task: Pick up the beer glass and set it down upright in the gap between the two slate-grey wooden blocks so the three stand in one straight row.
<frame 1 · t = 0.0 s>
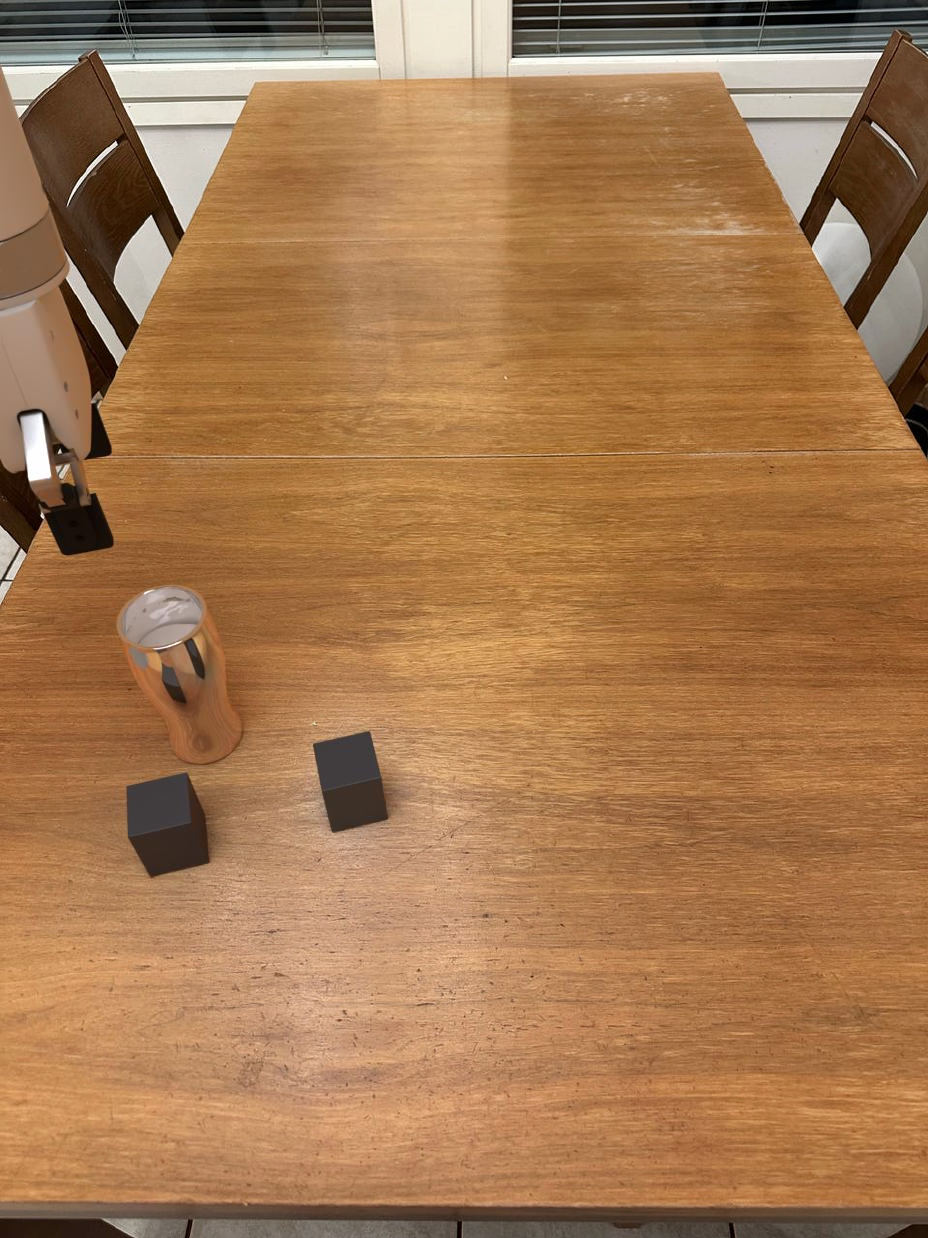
hand: (89, 500, 63), 25 cm above the table, tool pointing down, fingers open, 9 cm apart
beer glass: (207, 736, 81), on the table
block right: (355, 802, 76), on the table
block left: (178, 844, 74), on the table
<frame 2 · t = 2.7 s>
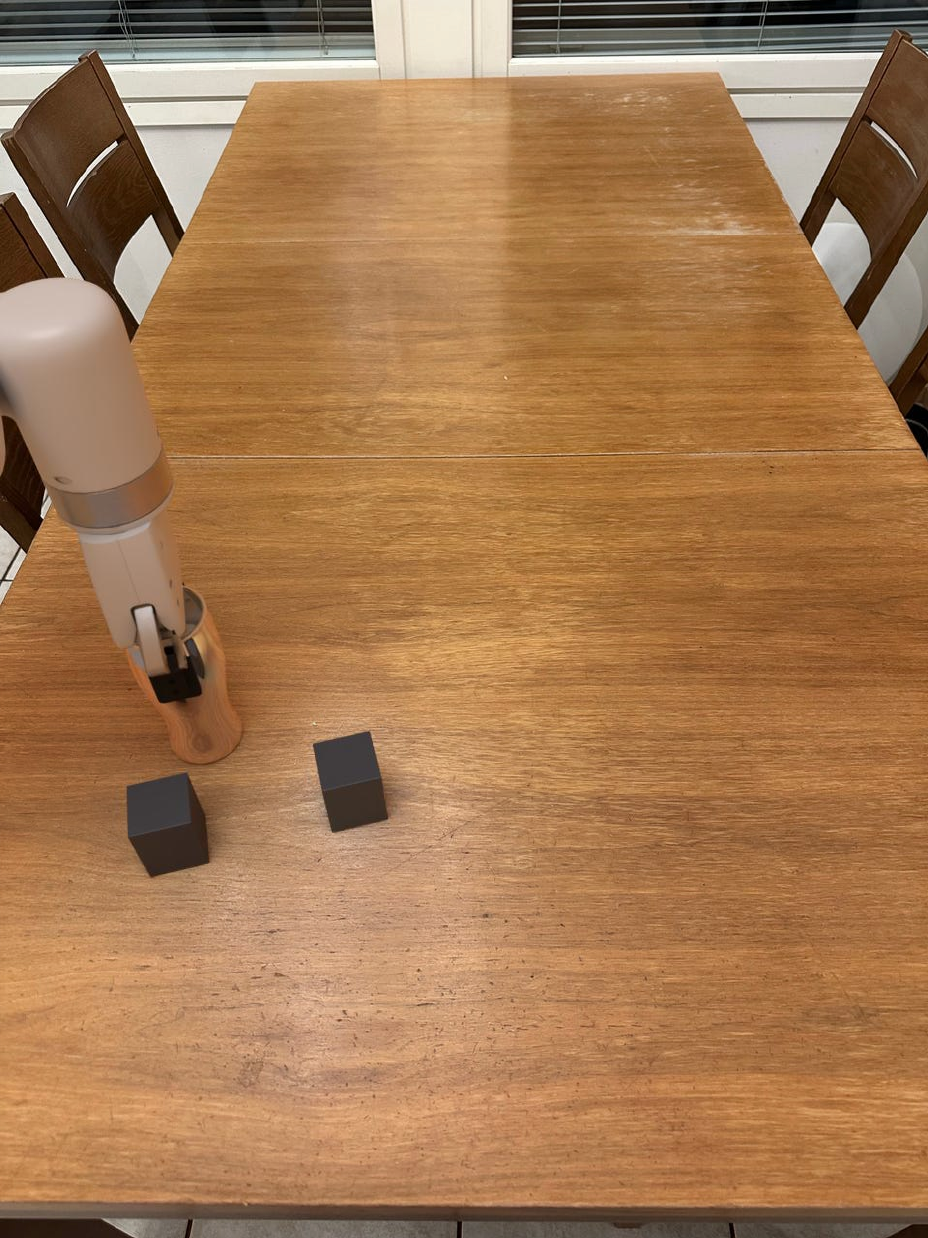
hand: (177, 657, 73), 10 cm above the table, tool pointing down, fingers closed on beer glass, 7 cm apart
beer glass: (207, 736, 81), on the table, touching gripper
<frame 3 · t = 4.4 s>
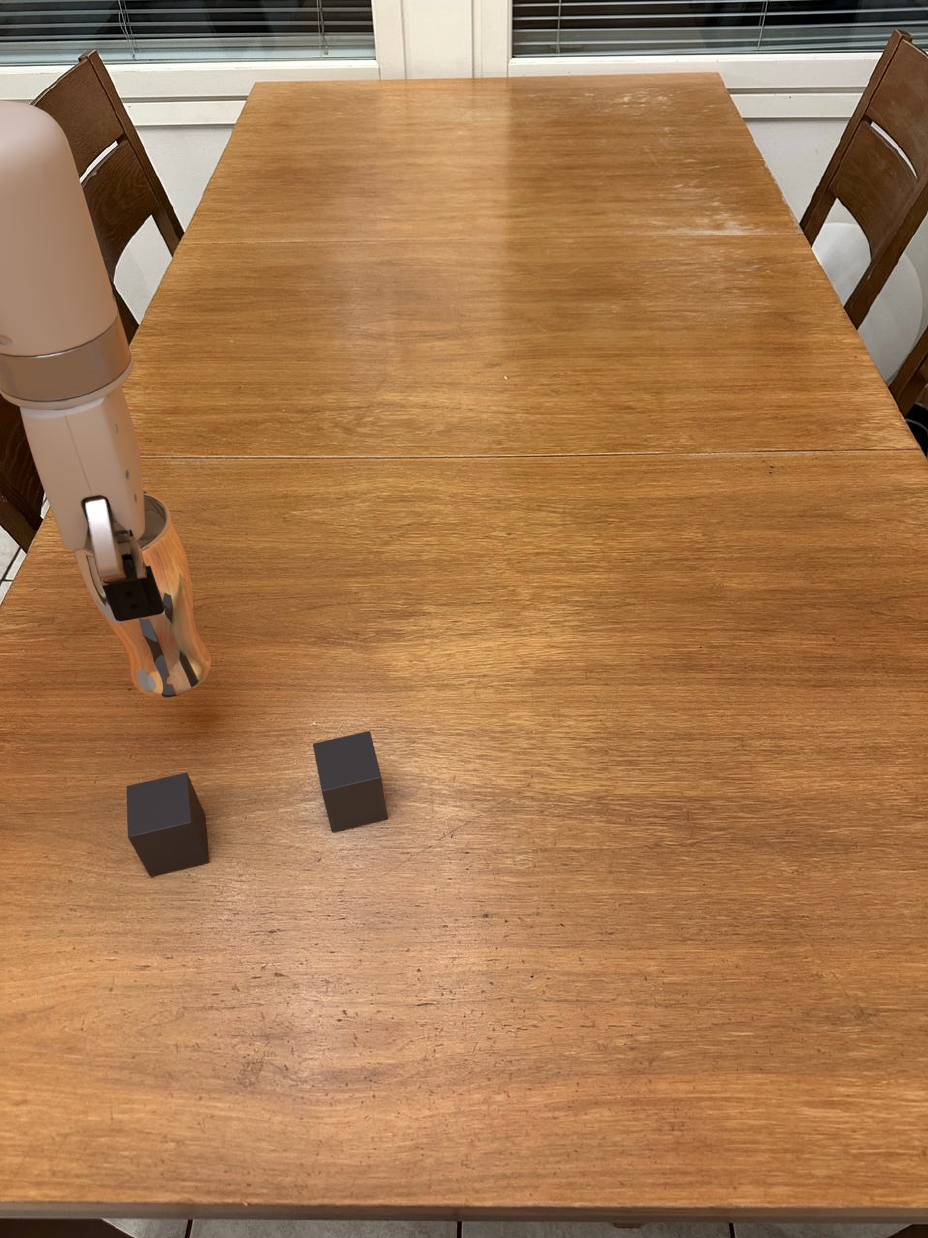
hand: (138, 574, 66), 19 cm above the table, tool pointing down, fingers closed on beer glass, 7 cm apart
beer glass: (172, 670, 74), point 9 cm above the table, touching gripper
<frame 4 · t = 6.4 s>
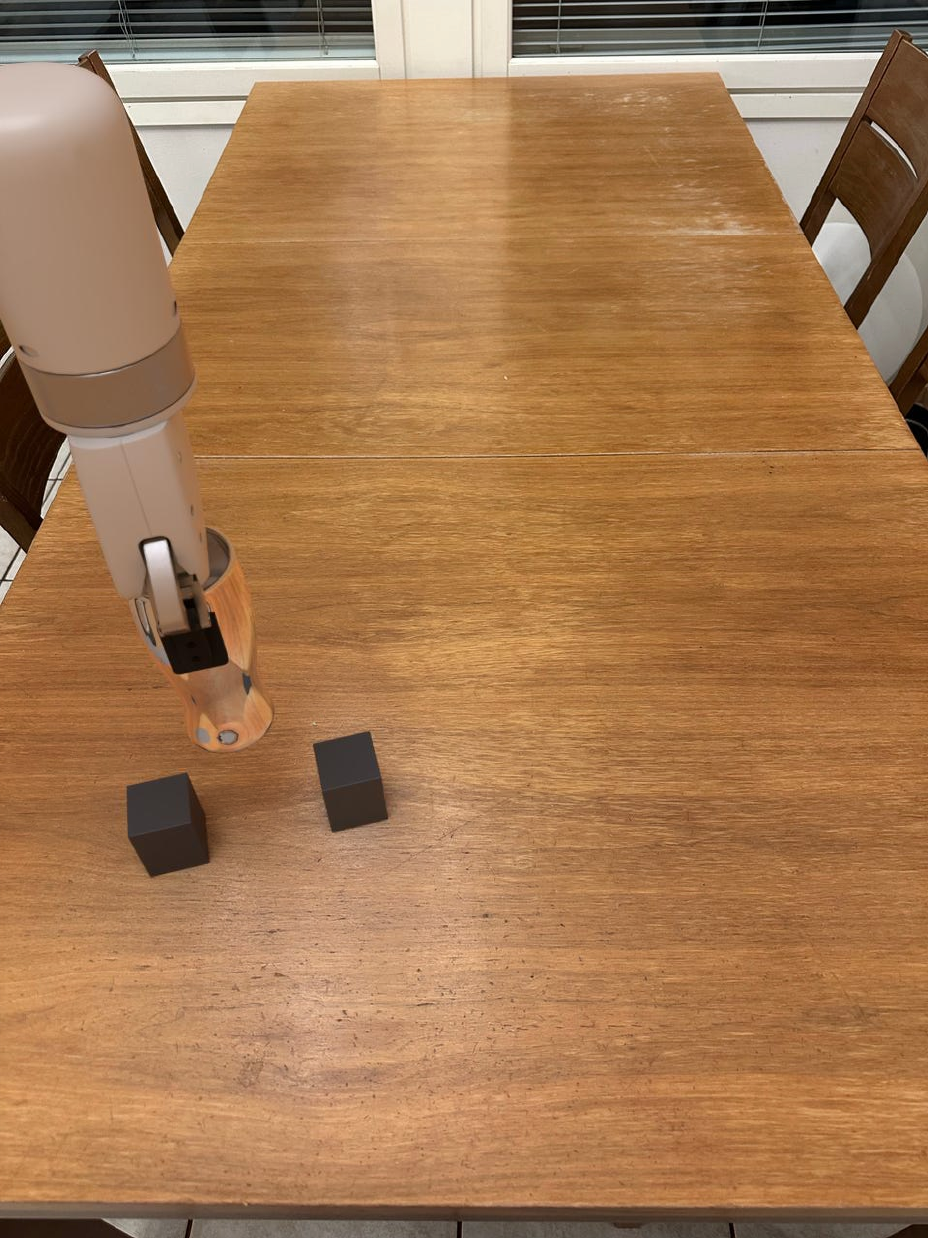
hand: (196, 618, 58), 23 cm above the table, tool pointing down, fingers closed on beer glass, 7 cm apart
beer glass: (231, 719, 65), point 13 cm above the table, touching gripper
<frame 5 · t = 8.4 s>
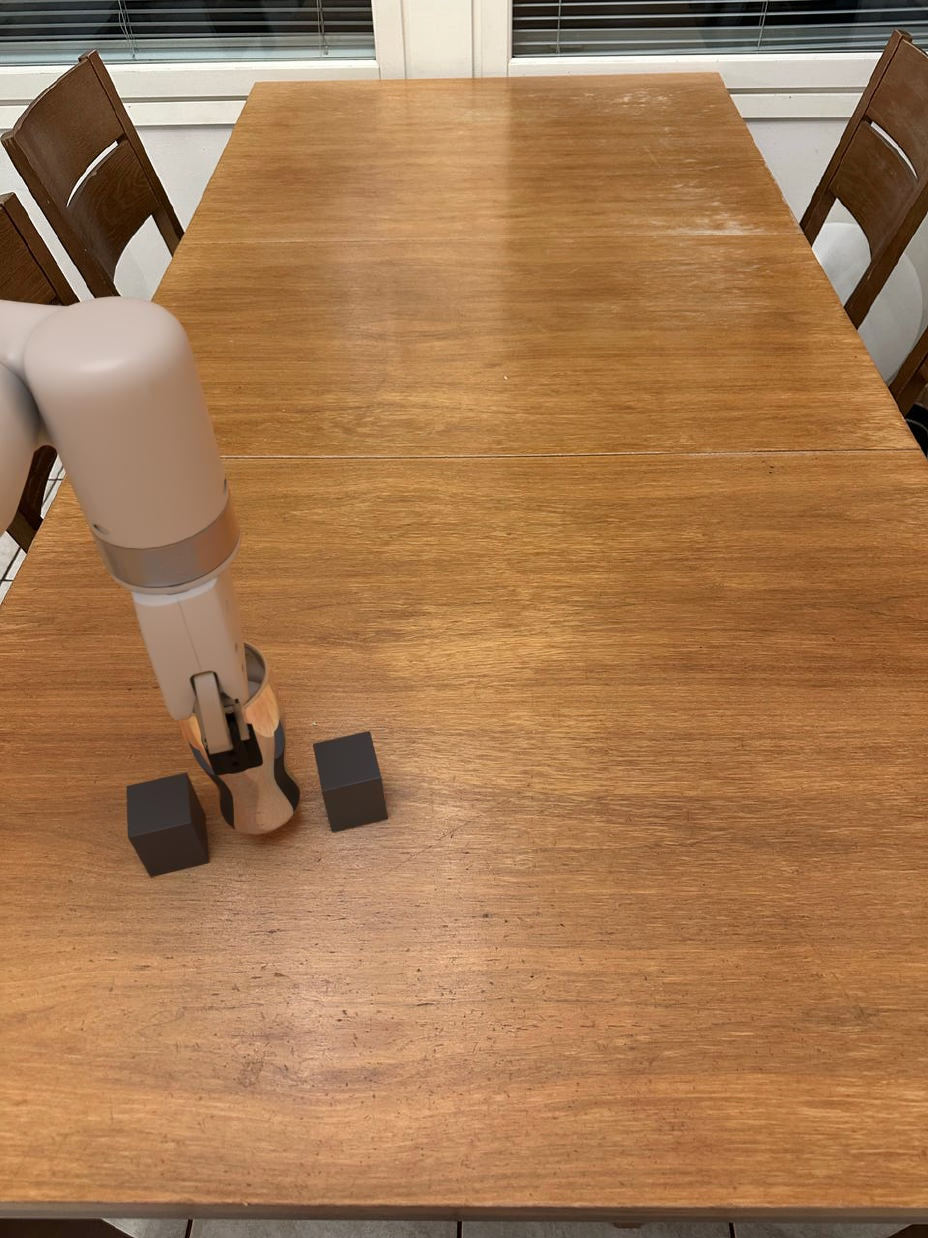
hand: (233, 720, 65), 14 cm above the table, tool pointing down, fingers closed on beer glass, 7 cm apart
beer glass: (261, 801, 72), point 3 cm above the table, touching gripper
when the fingers open (10 cm above the table, at t = 9.9 s): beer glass stays where it is, on the table.
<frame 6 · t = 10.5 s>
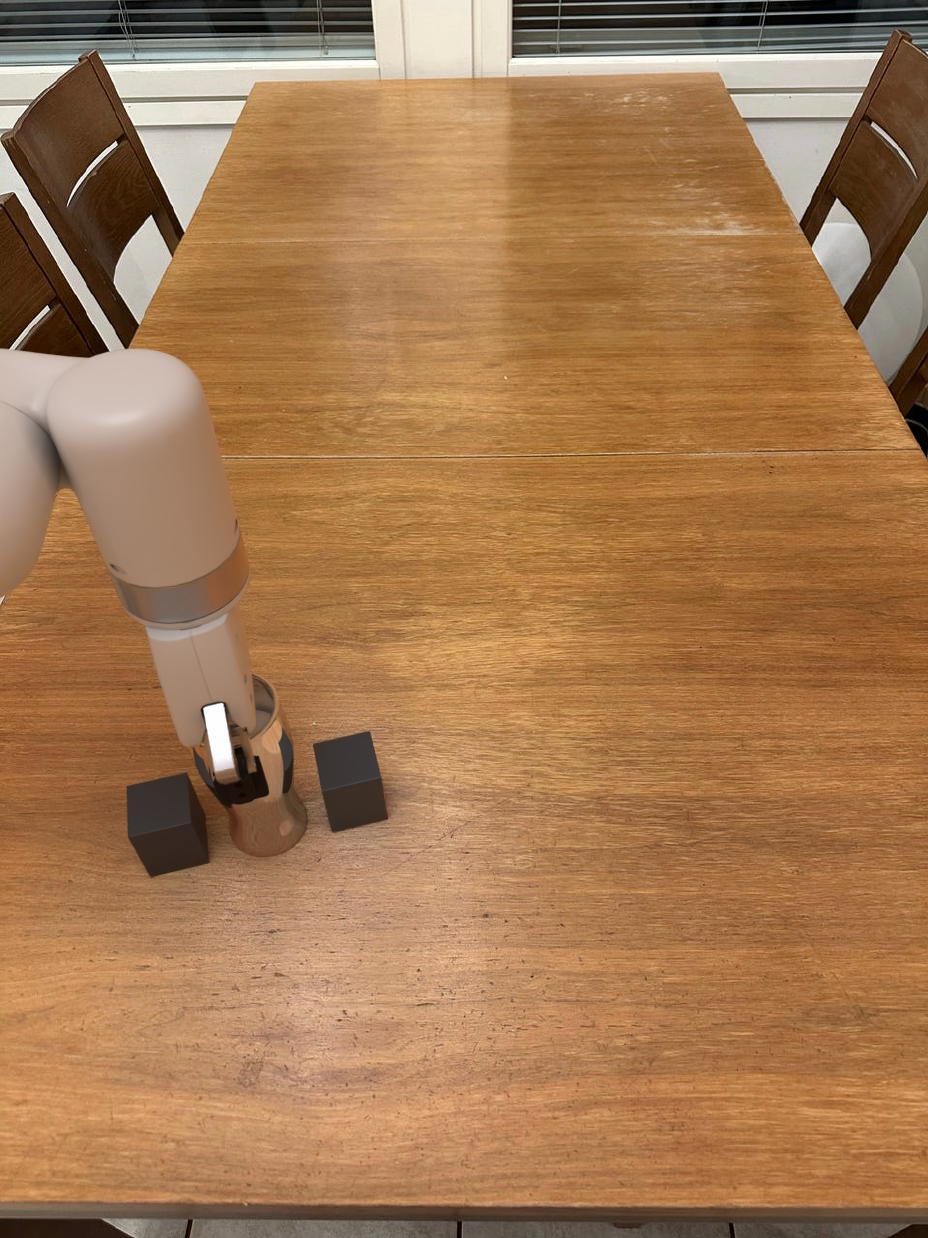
hand: (238, 740, 66), 11 cm above the table, tool pointing down, fingers open, 9 cm apart
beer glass: (269, 824, 75), on the table
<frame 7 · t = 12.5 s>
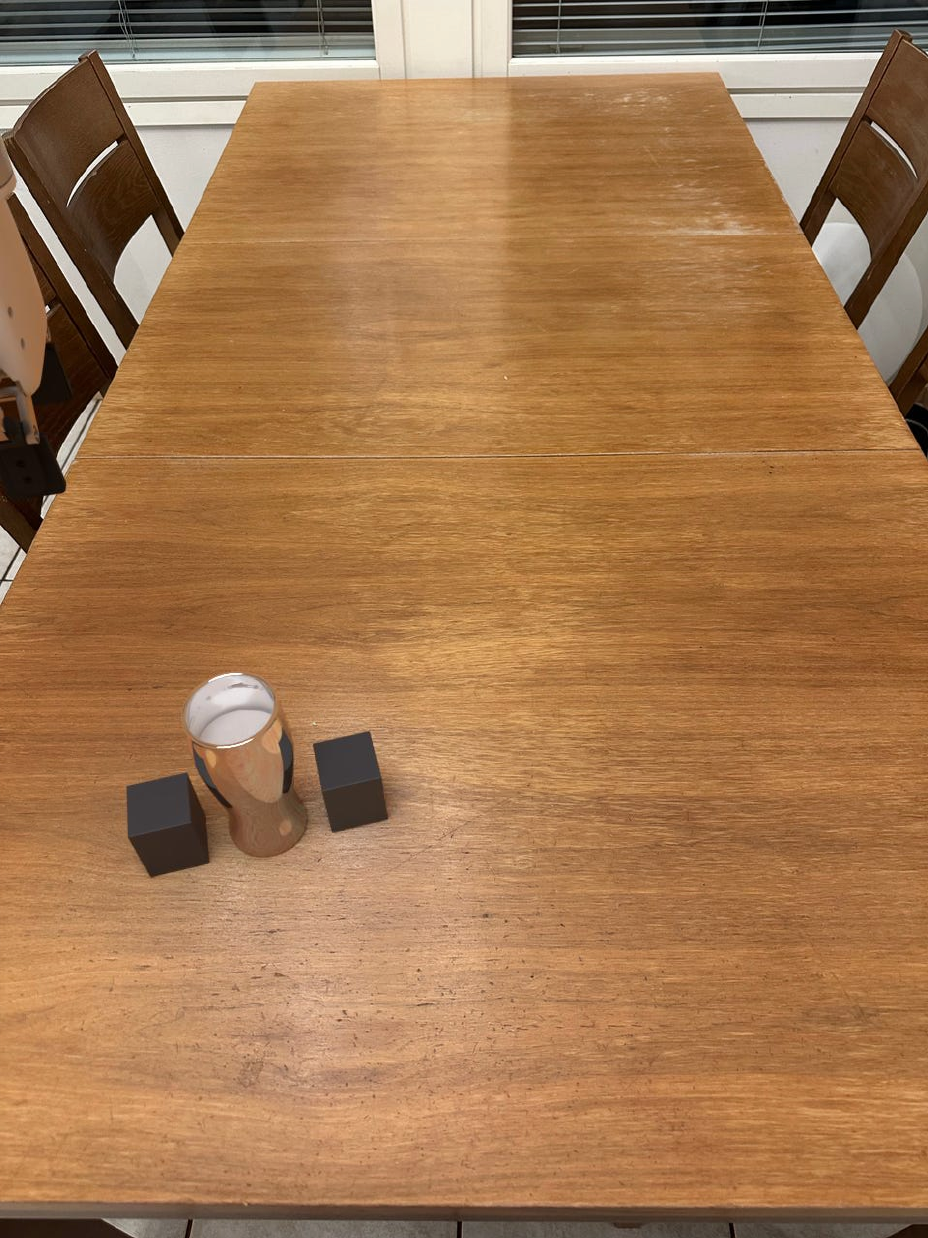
hand: (44, 445, 59), 30 cm above the table, tool pointing down, fingers open, 9 cm apart
nothing on the table moved.
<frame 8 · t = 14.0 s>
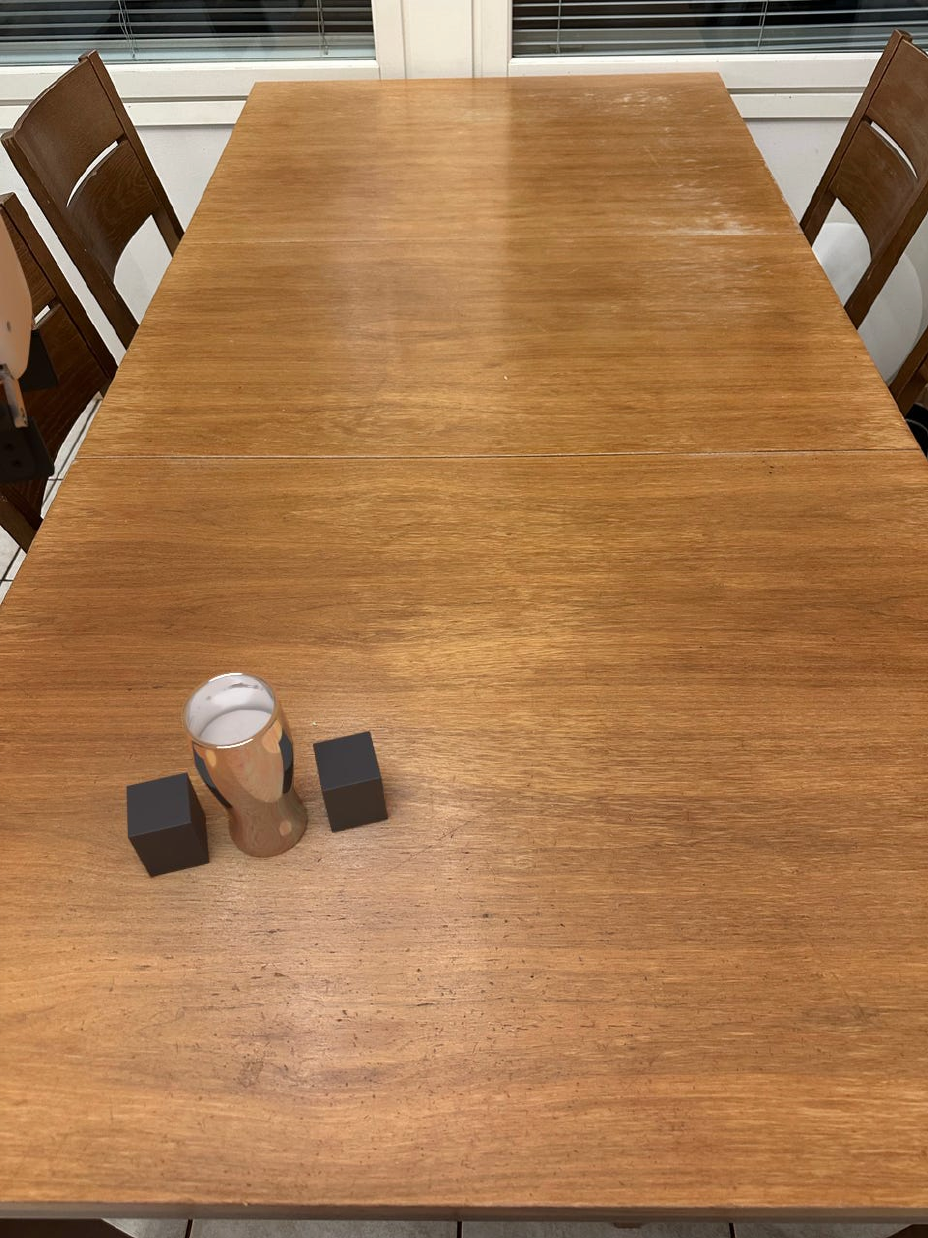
hand: (32, 430, 60), 30 cm above the table, tool pointing down, fingers open, 9 cm apart
nothing on the table moved.
at the end: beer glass 0.1 cm from the target spot, on the table; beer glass tilted 0°; the gripper is holding nothing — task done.
